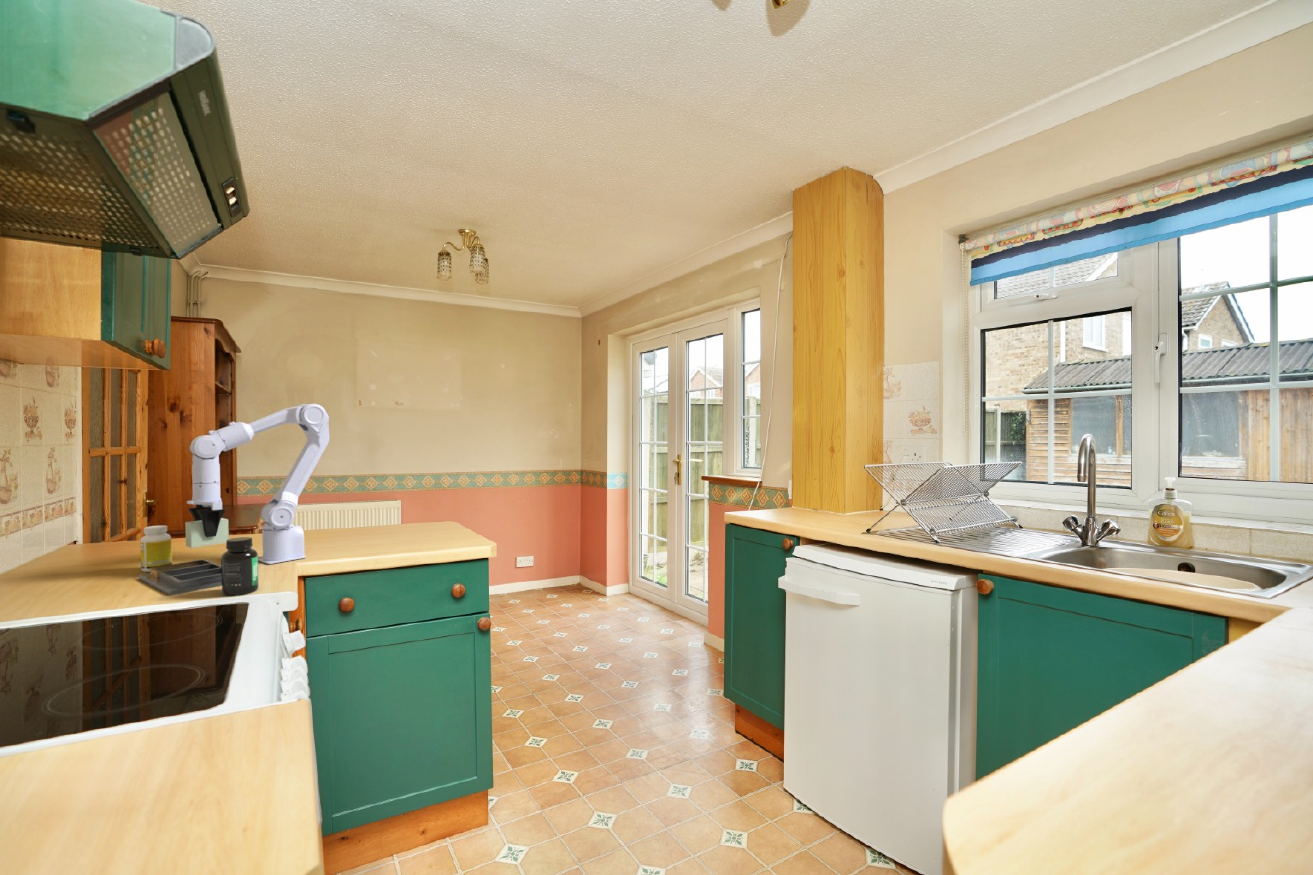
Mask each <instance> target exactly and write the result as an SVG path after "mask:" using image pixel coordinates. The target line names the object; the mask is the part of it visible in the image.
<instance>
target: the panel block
mask: <svg viewBox="0 0 1313 875" xmlns="http://www.w3.org/2000/svg"><path fill="white" fill-rule="evenodd" d="M184 523H185V546H186V547H188V548H190V549H192V548H194V549H195V548H199V547H200V548H201V547H208V546H214V545H221V544H226V541H227V540H228V539H230V535H229V534H230V531H229V519H228V518H223V517H222V518H221V520H220V523H219V526H218V531H217V534H216V536H212V537H206V536H205V534H204V529H203V523H202V520H200V521H195V520H194V521H193V520H192V521H185V522H184Z"/></svg>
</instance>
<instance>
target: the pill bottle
mask: <svg viewBox="0 0 1313 875" xmlns="http://www.w3.org/2000/svg"><path fill="white" fill-rule="evenodd" d="M167 532H168V525H152V526H151V525H150V526H146V527H143V534H144V536H142V537H141V538H140V543H139V544H140V545H139V547H140V568H141V571H142V572H144V573H150V568H152V567H158V566H165V565H171V564H173V550H172V545H173V544H172V536H171V535H170V534H169V533H167Z"/></svg>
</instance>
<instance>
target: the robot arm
mask: <svg viewBox="0 0 1313 875" xmlns="http://www.w3.org/2000/svg"><path fill="white" fill-rule="evenodd" d="M329 422H330V417H329V415H328V413H327V411H326V409H325V408H324V406H321V405H320V404H319V403H318V404H317V403H310V404H309V403H302V404H299V405H297V406H290V407H287V408H283V409H280V410H278V411H276V412H273V413H271V414H269V415H266V416H264V417H262V418H259V419H257V420H254V421H252V422H249V423H246V422H242V421H238V422H235V421H231V422H228V425H227V426H225V427H222V428H219V429H216V430H214V429H211V430H209V431H208V435H207V434H206V435H205V434H204V435H203V434H202V435H199V436H197V437H195V438H193V440H191V443H190V446H189V450H190V452H191V453H192V458H191V460H192V465H191V474H192V475H191V477H192V478H191V479H192V481H191V482H192V486H191V487H192V497H191V500H187V501H186V504H188V505H192V506H195V507H189V508H188V511H189V513H190V515H191V516H192V518H193V520H194V521H200V520H202V523H203V529H204V534H205V536H206V537H212V536H216V534H217V531H218V526H219V523H220V520H221V518H223V516H224V514H225V512H226V508H223V501H222V498H221V464H220V457H219V456H220V454H221V452H222V451H223V452H228V451H229V450H232V449H235V448H237V447H240V446H242V445H245V444H248V443H250V442H252V439H253V437H254V436H255V435H256V434H259V433H263V432H265V431H268V430H271V429H273V428H276V427H279V426H281V425H284V424H297V425H298V426H299V427H300V428H301V429H302V431H303V432H304V433H303V434H305V437H306V439H307V440H306V442H305V443H304V446H303V447H302V449H301V450H300V453H299V455H298V457H297V458H296V460H295V462H294V464H293V465H292V467H291V469H290V470H289V472H288V474H287V476H286V477H285V479H284V481H283V483H282V485H281V486H280V488H279V490H278V491H277V492H276V493H275V494H274V495H273V497H272V498H271V500H270V501H269V502H267V503H266V504H265V505H264V506H263V507H262V508H261V510H260V518H261V520H262V521H263V522H264V524H263V526H262V527H261V529H262V530H261V532H262V533H261V534H262V537H261V540H262V557H258V562H261V563H265V564H267V565H272V564H273V565H274V564H279V563H284V562H285V563H286V562H289V561H294V560H300V559H301V560H302V559H305V558H307V556H306V555H305V552H306V551H305V533H304V529H303V527H302V526H301V525H299V524H298V525H294V524H293V523H294V520H295V512H296V509H297V506H298V505H299V504H298V502H299V497H300V495H301V493H302V492H303V490H304V488H305V486H306V485H307V483H308V480H309V479H310V477H311V475H312V474H313V471H314V470H315V468H316V466H317V464H318V463H319V461H320V459H321V457H322V455H323V454H324V452H325V450H326V448H327V446H328V444H329V442H330V428H329V427H330V426H329Z"/></svg>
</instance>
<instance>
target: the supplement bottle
mask: <svg viewBox="0 0 1313 875" xmlns="http://www.w3.org/2000/svg"><path fill="white" fill-rule="evenodd" d="M225 544H226V546H225V549H226V550H227V551H225V552H224V553H222V555H221V558H220V560H221V562H220V563H221V564H220V565H221V573H222V586H221V593H222V594H223V595H224V596H229V597H234V596H236V595H238V596H243V595H244V596H245V595H248V594H252V593H255V592H257V591H258V590H259V561H258V558H259V554H258V552H257V550H256V549H254V548H252V547H253V546H254V545H253V537H249V536H243V537H234V538H229V539H228V540H227V541H226V543H225Z"/></svg>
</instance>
